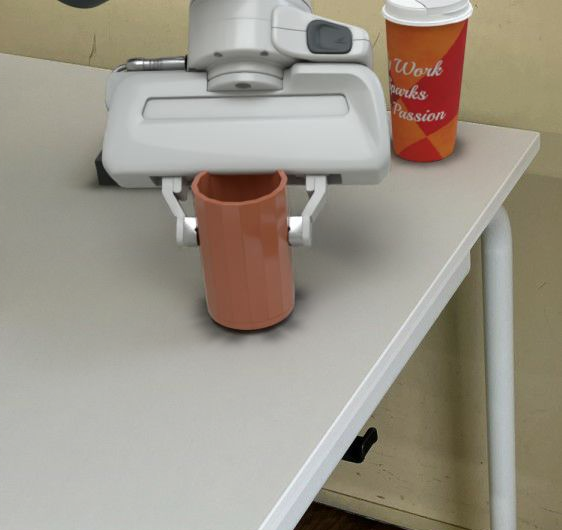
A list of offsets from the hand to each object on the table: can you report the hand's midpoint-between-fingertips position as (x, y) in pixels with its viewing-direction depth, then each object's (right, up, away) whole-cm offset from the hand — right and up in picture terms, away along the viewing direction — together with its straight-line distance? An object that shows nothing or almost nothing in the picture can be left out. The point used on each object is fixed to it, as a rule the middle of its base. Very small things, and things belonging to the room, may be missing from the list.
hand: (244, 245), depth 70 cm
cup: (0, -4, +4) cm, 5 cm away
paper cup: (+16, +12, +23) cm, 30 cm away
